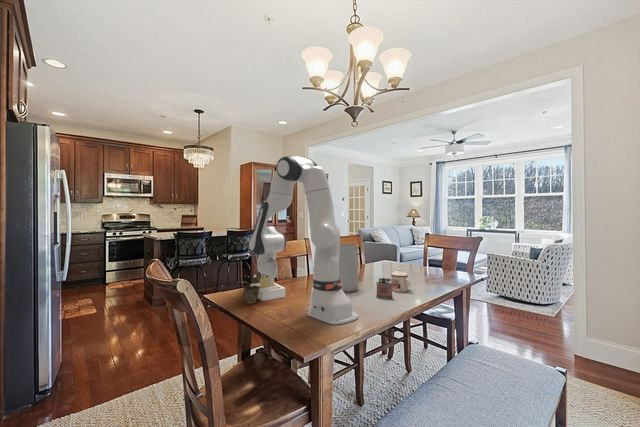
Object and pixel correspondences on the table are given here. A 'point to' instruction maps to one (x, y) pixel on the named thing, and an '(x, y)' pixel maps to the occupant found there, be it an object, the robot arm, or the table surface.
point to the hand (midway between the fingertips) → (267, 283)
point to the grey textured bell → (251, 293)
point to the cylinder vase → (348, 267)
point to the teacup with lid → (400, 281)
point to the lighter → (384, 288)
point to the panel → (265, 282)
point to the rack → (270, 292)
